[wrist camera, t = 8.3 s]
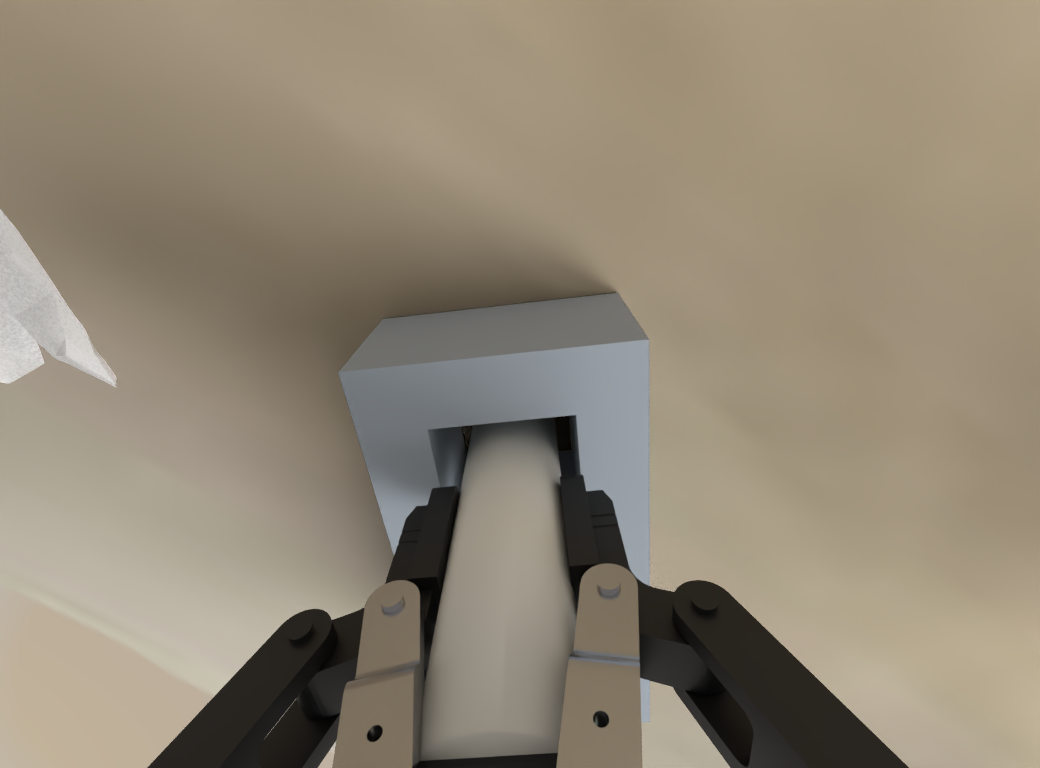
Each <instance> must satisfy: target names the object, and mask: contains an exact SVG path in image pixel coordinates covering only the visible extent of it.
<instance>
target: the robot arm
mask: <svg viewBox="0 0 1040 768" xmlns="http://www.w3.org/2000/svg"><path fill="white" fill-rule="evenodd" d="M560 486H561V495H562V504H563V513H564V523H565V532H566V541H567V550H568V559H569V568H570V577H571V585H572V587H573V590H574V593H575V599H576V608H577V620H576V630H575V639H574V649H573V653H570V656H569V660H568V668H567V677H566V685H565V694H564V703H563V712H562V721H561V730H560V739H559V748H558V753H546V754H529V755H512V756H495V757H478V758H461V759H444V760H427V761H419V736H420V728H421V725H422V712H423V698H424V688H425V679H426V673H427V668H428V663H429V657H430V652H431V647H432V641H433V636H434V630H435V625H436V620H437V614H438V609H439V604H440V598H441V593H442V587H443V582H444V577H445V571H446V566H447V561H448V555H449V550H450V544H451V539H452V534H453V528H454V523H455V518H456V512H457V507H458V501H459V496H460V494H459V490H458V487H457V486H449V487H438V488H433V489H432V491H431V494H430V498H429V501H428V505H424V506H416V507H415V509H414V510H413V511H412V512H411V513H410V514H409V516H408V517H407V518H406V520H405V523H404V526H403V530H402V534H401V536H400V539H399V542H398V543H399V545H397V548H396V552H395V555H394V558H393V561H392V564H391V567H390V570H389V573H388V577H387V580H386V583H385V584H384V585H382V586H381V587H379V588H378V589H376V590H375V591H374V592H373V593H372V594H371V596H370V597H369V598H368V600H367V602H366V604H365V607H364V608H363V609H361V610H359V611H356V612H354V613H351V614H348V615H345V616H343V617H340V618H337V619H334V620H331V617H330V616H329V614H328V613H327V612H325V611H323V610H320V609H310V610H306V611H303V612H300V613H298V614H296V615H294V616H292V617H291V618H289V619H288V620H287V621H286V622H284V623H283V624H282V625H281V626H280V627H279V628H278V630H277V631H276V632H275V633H274V634H273V635H272V636H271V637H270V638H269V639H268V640H267V641H266V642H265V643H264V644H263V645H262V647H261V648H260V649H259V650H258V651H257V652H256V653H255V654H254V655H253V656H252V657H251V658H250V659H249V660H248V661H247V662H246V664H245V665H244V666H243V667H242V668H241V669H240V670H239V671H238V672H237V673H236V674H235V675H234V676H233V677H232V678H231V679H230V681H229V682H228V683H227V684H226V685H225V686H224V687H223V688H222V689H221V690H220V691H219V692H218V693H217V694H216V695H215V696H214V698H213V699H212V700H211V701H210V702H209V703H208V704H207V705H206V706H205V707H204V708H203V709H202V710H201V711H200V712H199V713H198V715H197V716H196V717H195V718H194V719H193V720H192V721H191V722H190V723H189V724H188V725H187V726H186V727H185V729H184V730H182V732H181V733H180V734H179V735H178V736H177V737H176V738H175V739H174V740H173V741H172V742H171V743H170V744H169V745H168V746H167V747H166V749H165V750H164V751H163V752H162V753H161V754H160V755H159V756H158V757H157V758H156V759H155V760H154V761H153V762H152V763H151V765H150V766H149V767H148V768H318V766H319V765H320V763H321V762H322V760H323V759H324V757H325V756H326V754H327V753H328V751H329V750H330V749H331V747H332V746H333V744H334V743H335V741H336V747H335V754H334V761H333V767H332V768H642V732H641V691H640V678H642V679H646V680H650V681H653V682H657V683H661V684H665V685H668V686H672V687H673V688H674V690H675V692H676V693H677V695H678V696H679V697H680V699H681V700H682V701H683V703H684V704H685V706H686V707H687V708H688V710H689V711H690V712H691V714H692V715H693V717H694V718H695V719H696V721H697V722H698V723H699V725H700V726H701V728H702V729H703V730H704V732H705V733H706V734H707V736H708V737H709V739H710V740H711V741H712V743H713V744H714V745H715V747H716V748H717V750H718V751H719V752H720V754H721V755H722V756H723V758H724V759H725V760H726V762H727V763H728V765H729V766H730V767H731V768H909V767H908V766H907V765H906V764H905V763H903V762H902V761H901V760H900V759H899V758H898V757H897V756H896V755H895V754H894V753H893V752H892V751H891V750H890V749H889V748H888V747H887V746H886V745H885V744H884V743H883V742H882V741H881V740H880V739H879V738H878V737H877V736H876V735H875V734H874V733H873V732H872V731H870V730H869V729H868V728H867V727H866V726H865V725H864V724H863V723H862V722H861V721H860V720H859V719H858V718H857V717H856V716H855V715H854V714H853V713H852V712H851V711H850V710H849V709H848V708H847V707H846V706H845V705H844V704H843V703H842V702H841V701H840V700H839V699H837V698H836V697H835V696H834V695H833V694H832V693H831V692H830V691H829V690H828V689H827V688H826V687H825V686H824V685H823V684H822V683H821V682H820V681H819V680H818V679H817V678H816V677H815V676H814V675H813V674H812V673H811V672H810V671H809V670H808V669H807V668H806V667H804V666H803V665H802V664H801V663H800V662H799V661H798V660H797V659H796V658H795V657H794V656H793V655H792V654H791V653H790V652H789V651H788V650H787V649H786V648H785V647H784V646H783V645H782V644H781V643H780V642H779V641H778V640H777V639H776V638H775V637H774V636H773V635H771V634H770V633H769V632H768V631H767V630H766V629H765V628H764V627H763V626H762V625H761V624H760V623H759V622H758V621H757V620H756V619H755V618H754V617H753V616H752V615H751V614H750V613H749V612H748V611H747V610H746V609H745V608H744V607H743V606H742V605H741V604H740V603H738V602H737V601H736V600H735V599H734V598H733V597H732V596H731V595H730V594H729V593H728V592H727V591H726V590H725V589H723V588H722V587H720V586H718V585H716V584H714V583H711V582H707V581H701V580H695V581H689V582H686V583H684V584H682V585H680V586H679V587H678V588H677V589H676V591H675V592H671V591H666V590H661V589H657V588H653V587H651V586H648V585H646V584H644V583H643V582H641V581H640V580H639V579H638V578H636V577H635V575H634V574H633V573H632V571H631V570H630V567H629V564H628V560H627V556H626V552H625V548H624V545H623V541H622V537H621V533H620V529H619V526H618V521H617V517H616V513H615V509H614V505H613V501H612V500H611V499H610V497H609V496H608V495H607V494H606V493H605V492H604V491H603V490H595V491H586V487H585V482H584V477H583V475H572V476H561V477H560ZM295 699H296V700H295ZM293 702H294V703H293ZM292 703H293V704H292ZM291 704H292V705H291ZM289 707H290V708H289ZM288 708H289V709H288ZM287 709H288V710H287ZM285 712H286V713H285ZM284 713H285V714H284ZM283 714H284V715H283ZM282 716H283V717H282ZM281 717H282V718H281ZM280 718H281V719H280ZM279 719H280V720H279ZM278 721H279V722H278ZM277 722H278V723H277ZM276 723H277V724H276ZM275 724H276V725H275ZM274 726H275V727H274ZM273 727H274V728H273ZM272 728H273V729H272ZM271 729H272V730H271ZM270 731H271V732H270ZM269 732H270V733H269ZM268 733H269V734H268ZM267 734H268V735H267ZM266 736H267V737H266ZM265 737H266V738H265Z"/></svg>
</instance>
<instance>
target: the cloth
mask: <svg viewBox="0 0 1040 768" xmlns="http://www.w3.org/2000/svg"><path fill="white" fill-rule="evenodd" d="M38 343H39V344H40V345H41V346H42V347H43V348H44V349H45V350H46V351H47V352H49V353H50V354H51V355H52V356H53V357H54V358H55V359H57V360H60V361H62V362H65V363H67V364H69V365H71V366H73V367H75V368H77V369H79V370H82V371H84V372H86V373H88V374H90V375H92V376H94V377H96V378H98V379H100V380H102V381H104V382H106V383H108V384H110V385H112V386H114V387H117V383H116V380H117V377H116V376H115V374H114V373H113V372H112V370H111V369H110V367H109V366H108V364H107V363H106V362H105V360H104V359H103V358H102V357H101V356H100V354H99V353H98V352H97V351H96V350H95V348H94V346H93V344H92V342H91V340H90V338H89V336H88V334H87V332H86V330H85V328H84V327H83V325H82V324H81V323H80V322H79V320H78V319H77V318H76V316H75V315H74V314H73V312H72V311H71V310H70V308H69V307H68V305H67V304H66V302H65V301H64V299H63V298H62V296H61V295H60V293H59V292H58V290H57V288H56V287H55V285H54V284H53V282H52V281H51V279H50V278H49V276H48V275H47V273H46V272H45V270H44V269H43V267H42V266H41V264H40V263H39V261H38V260H37V258H36V257H35V255H34V254H33V252H32V251H31V249H30V248H29V246H28V245H27V243H26V242H25V240H24V239H23V237H22V236H21V234H20V233H19V231H18V230H17V229H16V228H15V226H14V225H13V224H12V223H11V222H10V220H9V219H8V218H7V217H6V216H5V214H4V213H3V212H2V211H1V209H0V382H2V383H7V384H10V383H11V382H13V381H15V380H17V379H19V378H20V377H22V376H24V375H26V374H27V373H29V372H31V371H32V370H34V369H36V368H38V367H39V366H41V365H43V364H44V360H43V357H42V354H41V351H40V349H39V346H38Z"/></svg>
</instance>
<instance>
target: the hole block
mask: <svg viewBox="0 0 1040 768" xmlns="http://www.w3.org/2000/svg"><path fill="white" fill-rule="evenodd" d="M338 374H339V377H340V380H341V384H342V387H343V390H344V394H345V397H346V400H347V403H348V407H349V410H350V413H351V417H352V420H353V423H354V426H355V430H356V433H357V436H358V440H359V443H360V446H361V449H362V453H363V456H364V459H365V462H366V466H367V469H368V472H369V476H370V479H371V482H372V485H373V489H374V492H375V495H376V499H377V502H378V505H379V508H380V512H381V515H382V518H383V522H384V525H385V528H386V531H387V535H388V538H389V541H390V544H391V548H392V551H393V554H394V555H395V552H396V548H397V545H399V543H398V542H399V539H400V536H401V534H402V530H403V526H404V523H405V520H406V518H407V517H408V516H409V514H410V513H411V512H412V511H413V510H414V509H415V507H416V506H424V505H428V501H429V498H430V494H431V491H432V489H433V488H438V487H449V486H457V487H458V490H459V494H460V491H461V485H462V480H463V474H464V469H465V464H466V458H467V454H466V448H465V443H464V438H463V433H462V428H461V426H469V425H480V424H490V423H500V422H510V421H520V420H530V419H540V418H550V417H561V416H569V423H570V435H571V447H572V450H571V451H560V452H558V453H559V461H560V470H561V476H572V475H583V477H584V482H585V487H586V491H595V490H603V491H604V492H605V493H606V494H607V495H608V496H609V497H610V499H611V500H612V501H613V505H614V509H615V513H616V517H617V521H618V526H619V529H620V533H621V537H622V541H623V545H624V548H625V552H626V556H627V560H628V564H629V567H630V570H631V571H632V573H633V574H634V575H635V577H636V578H638V579H639V580H640V581H641V582H643V583H644V584H646V585H648V586H650V513H649V338H648V337H647V335H646V334H645V332H644V331H643V329H642V328H641V326H640V325H639V323H638V322H637V320H636V319H635V317H634V316H633V314H632V313H631V312H630V310H629V309H628V307H627V306H626V304H625V303H624V301H623V300H622V298H621V297H620V295H619V294H618V293H610V294H601V295H592V296H584V297H575V298H566V299H557V300H548V301H539V302H530V303H521V304H512V305H503V306H494V307H485V308H476V309H467V310H458V311H449V312H441V313H432V314H423V315H414V316H405V317H396V318H387V319H382V320H381V322H380V323H379V324H378V325H377V326H376V328H375V329H374V330H373V331H372V332H371V334H370V335H369V336H368V337H367V338H366V340H365V341H364V342H363V343H362V344H361V346H360V347H359V348H358V349H357V350H356V352H355V353H354V354H353V355H352V356H351V357H350V359H349V360H348V361H347V362H346V363H345V365H344V366H343V367H342V368H341V369H340V371H339V372H338ZM640 691H641V722H650V680H646V679H642V678H640Z"/></svg>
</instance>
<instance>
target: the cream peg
mask: <svg viewBox="0 0 1040 768" xmlns="http://www.w3.org/2000/svg"><path fill="white" fill-rule="evenodd" d="M560 477H561V470H560V461H559V453H558V444H557V435H556V427H555V419H554V417H550V418H540V419H530V420H520V421H510V422H500V423H490V424H480V425H473V426H472V431H471V437H470V442H469V448H468V453H467V458H466V464H465V469H464V474H463V480H462V485H461V491H460V496H459V501H458V507H457V512H456V518H455V523H454V528H453V534H452V539H451V544H450V550H449V555H448V561H447V566H446V571H445V577H444V582H443V587H442V593H441V598H440V604H439V609H438V614H437V620H436V625H435V630H434V636H433V641H432V647H431V652H430V657H429V663H428V668H427V673H426V679H425V688H424V698H423V712H422V725H421V728H420V736H419V761H427V760H444V759H461V758H478V757H495V756H512V755H529V754H546V753H558V748H559V739H560V730H561V721H562V712H563V703H564V694H565V685H566V677H567V668H568V660H569V656H570V653H573V649H574V639H575V630H576V620H577V608H576V599H575V593H574V590H573V587H572V585H571V577H570V568H569V559H568V550H567V541H566V532H565V523H564V513H563V504H562V495H561V486H560Z"/></svg>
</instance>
